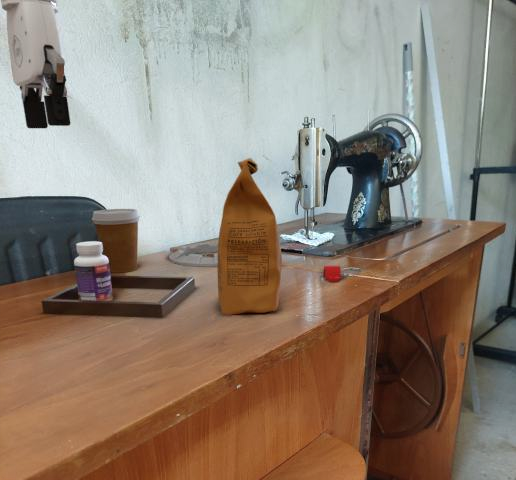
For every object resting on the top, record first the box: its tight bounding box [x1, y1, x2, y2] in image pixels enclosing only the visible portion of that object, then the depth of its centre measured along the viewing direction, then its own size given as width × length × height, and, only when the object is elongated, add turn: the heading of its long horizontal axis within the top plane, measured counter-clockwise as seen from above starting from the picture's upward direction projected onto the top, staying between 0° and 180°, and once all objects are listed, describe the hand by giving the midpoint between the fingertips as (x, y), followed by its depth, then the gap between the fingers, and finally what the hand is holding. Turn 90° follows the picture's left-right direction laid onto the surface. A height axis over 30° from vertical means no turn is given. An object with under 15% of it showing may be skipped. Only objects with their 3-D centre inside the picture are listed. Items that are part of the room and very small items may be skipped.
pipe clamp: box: [323, 265, 342, 283], centre depth 99 cm, size 8×3×2 cm, turn 179°
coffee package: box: [217, 157, 283, 316], centre depth 78 cm, size 10×12×22 cm
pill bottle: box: [73, 240, 114, 301], centre depth 84 cm, size 5×5×10 cm
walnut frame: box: [41, 274, 196, 319], centre depth 85 cm, size 19×17×2 cm
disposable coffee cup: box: [91, 208, 141, 274], centre depth 107 cm, size 10×10×12 cm
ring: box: [169, 242, 218, 267], centre depth 119 cm, size 19×19×2 cm
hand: (48, 126), depth 81 cm, fingers open, 9 cm apart
